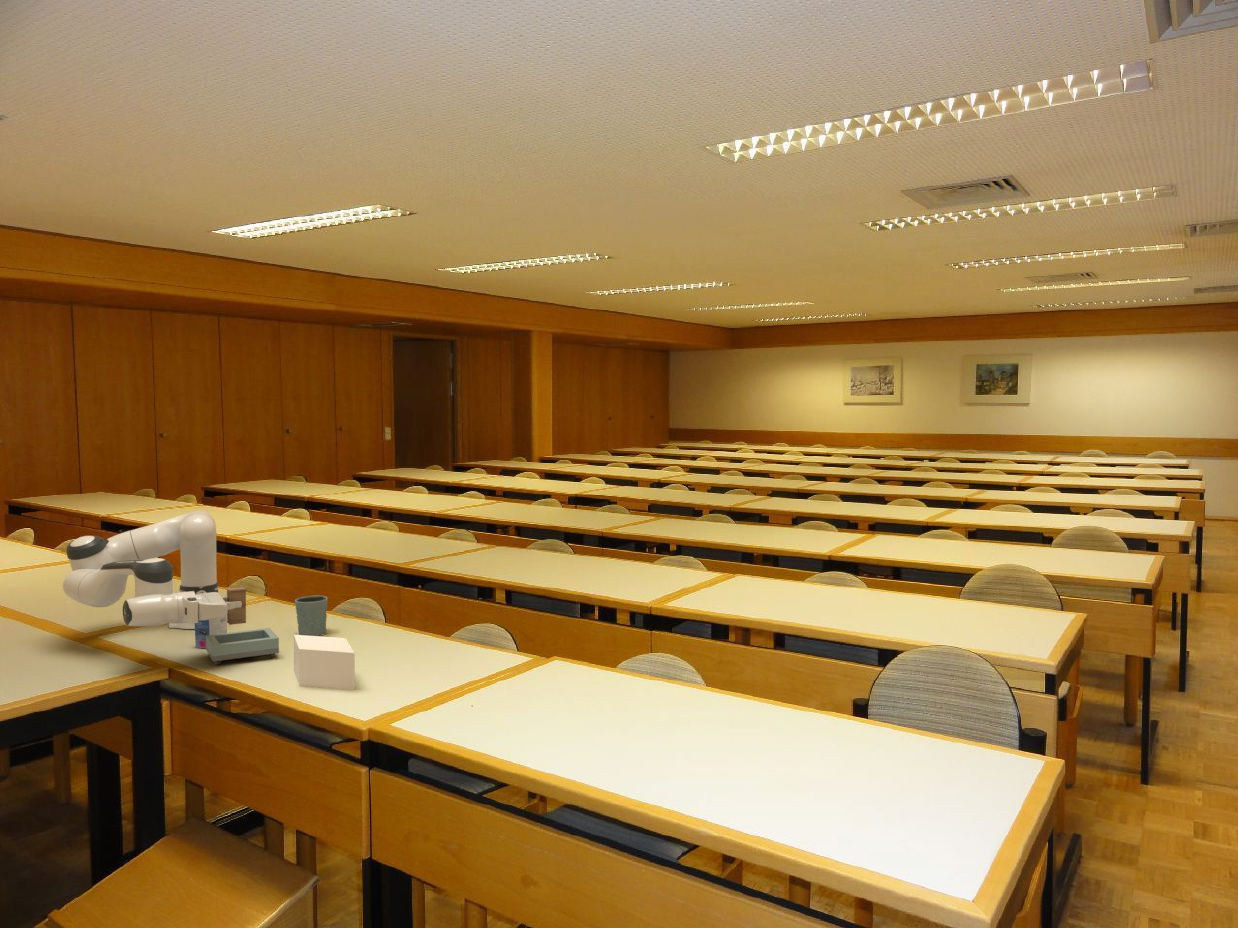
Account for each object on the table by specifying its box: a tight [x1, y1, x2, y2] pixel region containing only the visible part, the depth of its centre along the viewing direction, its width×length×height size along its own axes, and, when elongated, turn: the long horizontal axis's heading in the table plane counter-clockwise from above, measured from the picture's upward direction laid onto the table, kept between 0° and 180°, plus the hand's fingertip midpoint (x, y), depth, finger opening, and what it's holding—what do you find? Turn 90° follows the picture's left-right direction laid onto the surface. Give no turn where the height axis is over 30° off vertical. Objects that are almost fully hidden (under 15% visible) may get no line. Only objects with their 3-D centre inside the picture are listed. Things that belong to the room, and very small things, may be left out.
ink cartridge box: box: [194, 616, 228, 649], centre depth 265 cm, size 10×6×14 cm, turn 174°
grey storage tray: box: [205, 627, 280, 666], centre depth 252 cm, size 14×18×6 cm
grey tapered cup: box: [294, 595, 328, 636], centre depth 279 cm, size 10×10×12 cm
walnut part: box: [226, 586, 247, 626], centre depth 250 cm, size 4×4×10 cm
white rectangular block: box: [293, 634, 356, 691], centre depth 232 cm, size 14×29×10 cm, turn 53°
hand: (239, 601), depth 251 cm, fingers closed on walnut part, 4 cm apart
